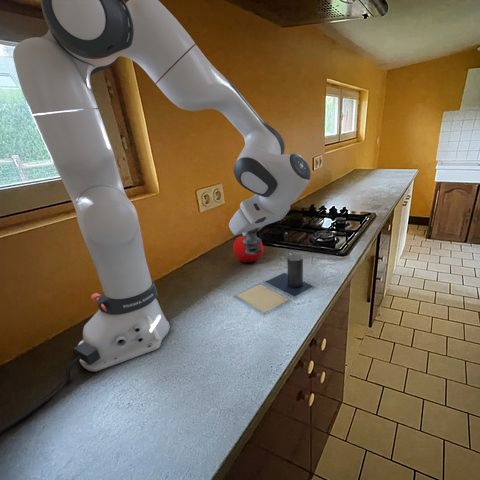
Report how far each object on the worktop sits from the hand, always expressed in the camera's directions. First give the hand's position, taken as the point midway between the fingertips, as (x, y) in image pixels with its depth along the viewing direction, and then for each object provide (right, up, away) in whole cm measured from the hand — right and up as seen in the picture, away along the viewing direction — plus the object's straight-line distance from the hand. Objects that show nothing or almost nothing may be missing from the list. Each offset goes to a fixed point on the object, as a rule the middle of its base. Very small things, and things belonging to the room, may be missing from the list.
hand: (249, 231), depth 94 cm
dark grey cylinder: (+15, -17, +7) cm, 23 cm away
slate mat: (+13, -17, +8) cm, 23 cm away
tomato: (-3, -8, +27) cm, 28 cm away
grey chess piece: (+1, -6, +3) cm, 7 cm away
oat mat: (+4, -21, +1) cm, 22 cm away
